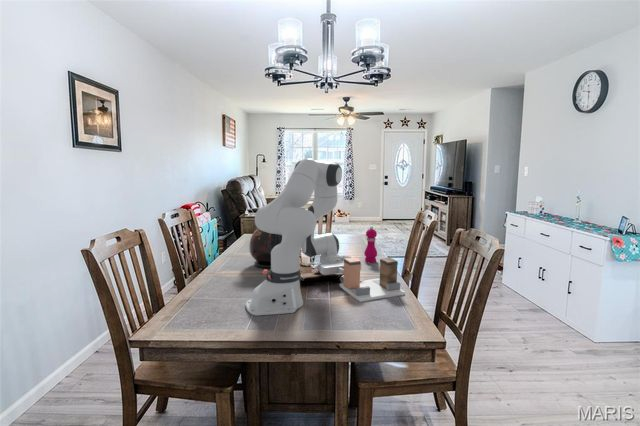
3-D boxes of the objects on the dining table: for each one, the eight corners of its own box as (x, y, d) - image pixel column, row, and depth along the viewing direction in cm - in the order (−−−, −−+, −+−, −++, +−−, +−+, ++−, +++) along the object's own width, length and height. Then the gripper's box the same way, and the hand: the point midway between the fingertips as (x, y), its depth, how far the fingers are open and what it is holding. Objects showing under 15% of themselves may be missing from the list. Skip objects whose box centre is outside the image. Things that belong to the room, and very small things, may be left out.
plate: (359, 301, 144) (359, 291, 143) (339, 286, 161) (339, 277, 161) (405, 294, 152) (405, 285, 152) (381, 280, 170) (381, 271, 169)
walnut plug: (386, 289, 154) (387, 262, 152) (379, 284, 160) (380, 258, 158) (396, 287, 156) (397, 261, 154) (389, 283, 162) (390, 257, 160)
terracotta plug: (349, 288, 154) (350, 262, 152) (343, 284, 160) (343, 258, 158) (360, 287, 156) (360, 260, 154) (353, 282, 162) (354, 257, 160)
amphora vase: (297, 266, 190) (296, 215, 186) (259, 274, 178) (258, 218, 174) (278, 257, 208) (277, 210, 203) (243, 263, 196) (242, 213, 191)
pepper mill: (376, 263, 197) (377, 228, 194) (363, 262, 199) (364, 227, 196) (377, 259, 204) (378, 225, 201) (364, 259, 206) (365, 225, 203)
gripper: (315, 259, 169) (326, 268, 157) (353, 255, 177) (367, 263, 164) (315, 272, 170) (326, 281, 157) (353, 268, 178) (366, 276, 165)
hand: (347, 272), depth 161 cm, fingers closed
